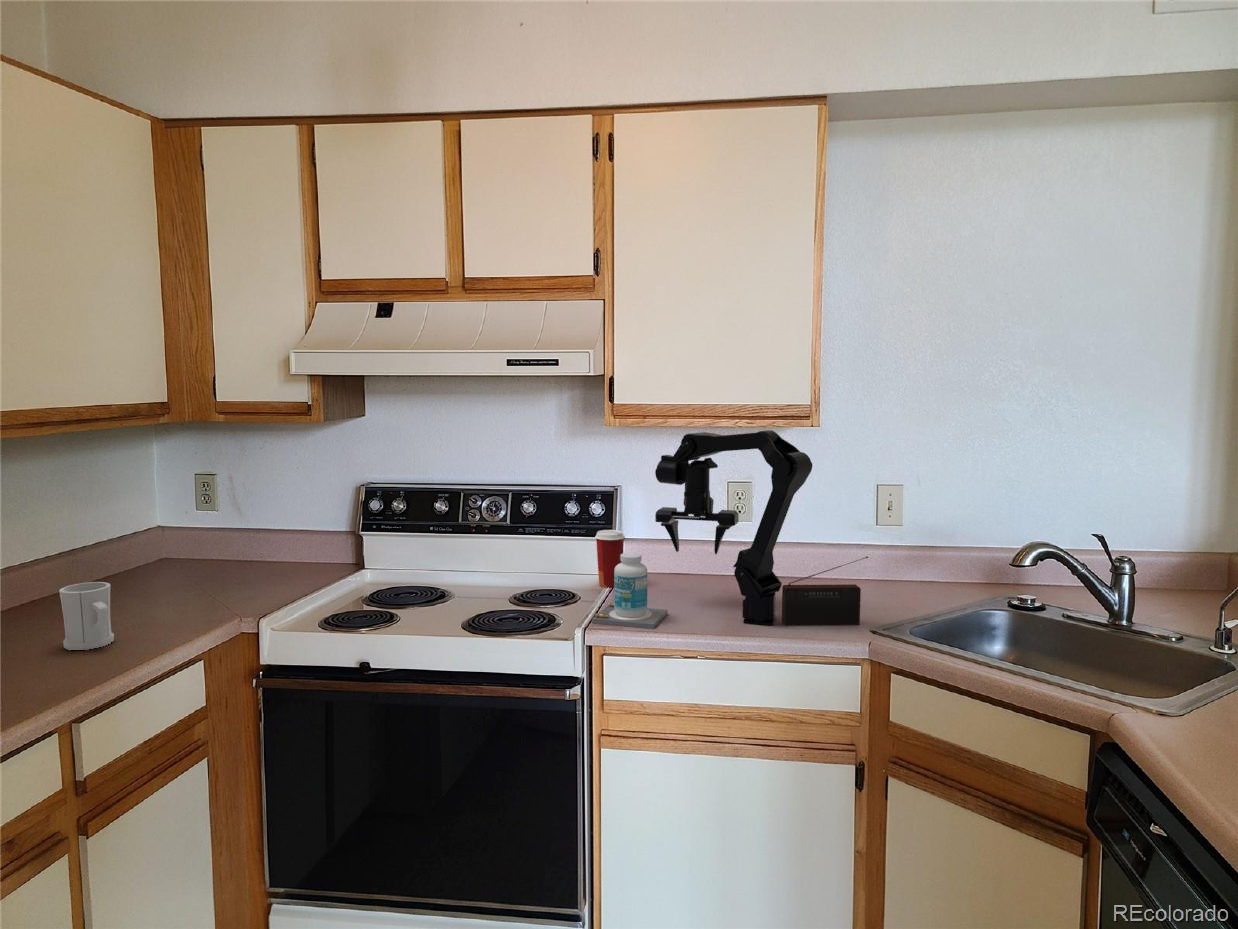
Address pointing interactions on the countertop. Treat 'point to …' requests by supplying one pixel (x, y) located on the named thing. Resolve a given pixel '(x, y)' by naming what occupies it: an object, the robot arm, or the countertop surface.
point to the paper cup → (608, 555)
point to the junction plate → (630, 618)
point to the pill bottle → (630, 586)
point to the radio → (821, 604)
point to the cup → (86, 615)
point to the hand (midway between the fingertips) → (696, 552)
